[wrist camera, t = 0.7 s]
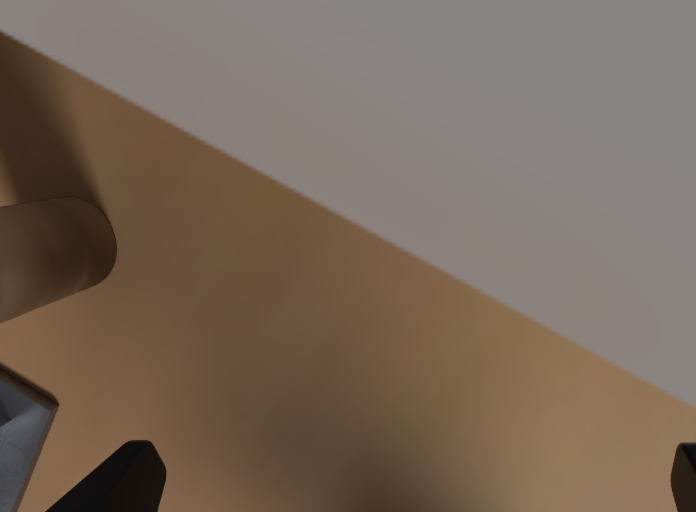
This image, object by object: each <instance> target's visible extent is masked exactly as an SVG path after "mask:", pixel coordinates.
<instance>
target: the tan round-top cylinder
mask: <svg viewBox="0 0 696 512" xmlns="http://www.w3.org/2000/svg"><path fill="white" fill-rule="evenodd" d="M116 252H117V247H116V239H115V235H114V232H113V229H112V227H111V225H110V223H109V221H108V220H107V218H106V217H105V216H104V214H103V213H102V212H101V211H100V210H99V209H98V208H96V207H95V206H94V205H92V204H91V203H89V202H87V201H85V200H83V199H80V198H75V197H63V198H56V199H49V200H42V201H36V202H29V203H22V204H16V205H9V206H2V207H0V323H3V322H5V321H8V320H10V319H12V318H15V317H17V316H20V315H22V314H25V313H27V312H30V311H32V310H35V309H37V308H40V307H42V306H45V305H47V304H50V303H52V302H55V301H57V300H60V299H62V298H65V297H67V296H70V295H72V294H74V293H77V292H79V291H82V290H84V289H87V288H89V287H92V286H94V285H97V284H98V283H100V282H102V281H103V280H104V279H105V278H106V277H107V276H108V275H109V273H110V272H111V270H112V268H113V266H114V263H115V260H116Z"/></svg>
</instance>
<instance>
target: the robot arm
mask: <svg viewBox="0 0 696 512" xmlns="http://www.w3.org/2000/svg"><path fill="white" fill-rule="evenodd" d="M165 481H166V467H165V465H164V463H163V461H162V459H161V458H160V456H159V454H158V452H157V450H156V449H155V447H154V445H153V444H152V443H151V442H150V441H148V440H131V441H128V442H126V443H125V444H123V445H122V446H121V447H120V448H119V449H118V450H116V451H115V452H114V453H113V454H112V455H111V456H109V457H108V458H107V459H106V460H105V461H104V462H102V463H101V464H100V465H99V466H98V467H97V468H96V469H94V470H93V471H92V472H91V473H90V474H89V475H87V476H86V477H85V478H84V479H83V480H82V481H80V482H79V483H78V484H77V485H76V486H75V487H73V488H72V489H71V490H70V491H69V492H68V493H66V494H65V495H64V496H63V497H62V498H61V499H59V500H58V501H57V502H56V503H55V504H54V505H52V506H51V507H50V508H49V509H48V510H47V511H46V512H157V511H158V508H159V504H160V500H161V496H162V493H163V489H164V485H165ZM671 488H672V492H673V496H674V500H675V503H676V507H677V511H678V512H696V443H680V444H679V445H678V446H677V449H676V453H675V458H674V462H673V467H672V472H671Z"/></svg>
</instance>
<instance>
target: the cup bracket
mask: <svg viewBox="0 0 696 512" xmlns="http://www.w3.org/2000/svg"><path fill="white" fill-rule="evenodd" d="M58 407H59V405H57V404H56V403H54V402H52V401H51V400H49V399H48V398H46V397H44V396H43V395H41V394H39V393H38V392H36V391H35V390H33V389H31V388H30V387H28V386H26V385H25V384H23V383H22V382H20V381H18V380H17V379H15V378H13V377H12V376H10V375H9V374H7V373H5V372H4V371H2V370H0V512H17V510H18V508H19V505H20V503H21V500H22V498H23V495H24V493H25V490H26V488H27V485H28V482H29V480H30V477H31V475H32V472H33V470H34V467H35V465H36V462H37V460H38V457H39V455H40V452H41V450H42V447H43V445H44V442H45V440H46V437H47V435H48V432H49V430H50V427H51V425H52V422H53V420H54V417H55V414H56V412H57V409H58Z"/></svg>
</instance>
